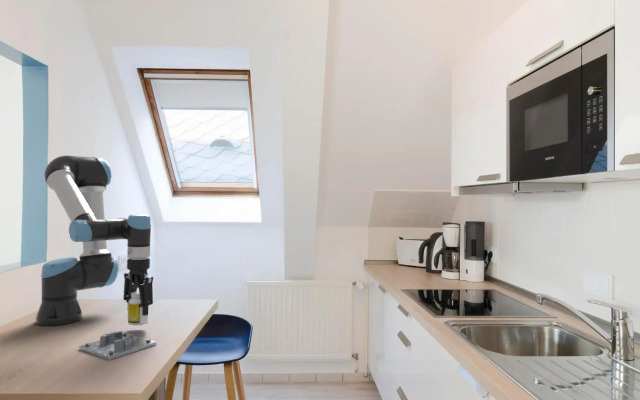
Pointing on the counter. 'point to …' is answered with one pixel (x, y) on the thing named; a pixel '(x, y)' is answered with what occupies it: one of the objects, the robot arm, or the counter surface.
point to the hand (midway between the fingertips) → (137, 322)
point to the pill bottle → (134, 309)
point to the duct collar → (116, 345)
